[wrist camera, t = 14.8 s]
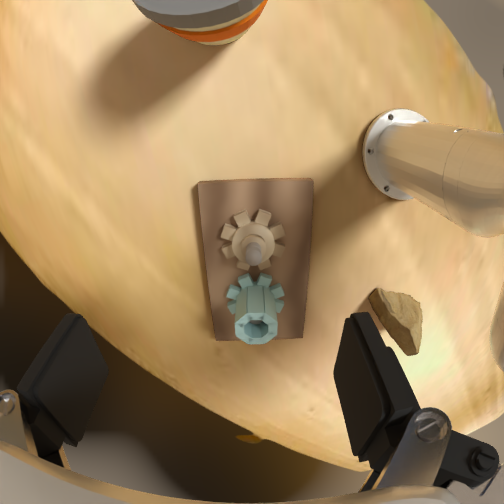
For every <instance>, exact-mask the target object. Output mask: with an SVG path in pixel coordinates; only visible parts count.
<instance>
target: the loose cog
mask: <svg viewBox="0 0 504 504" xmlns="http://www.w3.org/2000/svg"><path fill="white" fill-rule="evenodd" d="M271 281H272V276H270V275H267V274H264V273H260V275H259V277H258V280H257V282H253V280H252V278H251V276H250V274H249V273H247V274H244V275H242V276H239V277H238V282H239V284H240V285H241V288H240V287H238V286H234V285H231V284H230V286H229V289H228V291H227V295H226V297H228V298H231V299H234V300H232V301H230V302H228V303H227V307H228V309H229V310H230V312H231V313H232V314H235V334H236V337H238V338H239V339H241V340H242V341H244V342H245V343H247V344H264V343H265V344H266V343H267V342H268V341H270V340H271V339H272V338H274V337H275V336H276V335H277V326H278V322H277V313H276V312H278V313H280V312H281V310H282V308H283V306H284V301H283V300H279V299H277V298H279V297H282V296H285V295H284V291H283V289H282V286H281V284H280V283H278V284H276V285H273V286H270V287H269V285H270V283H271ZM250 320H262V322H261V323H260V324H251V323H250V322H249V321H250Z"/></svg>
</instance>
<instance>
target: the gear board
mask: <svg viewBox="0 0 504 504" xmlns="http://www.w3.org/2000/svg"><path fill="white" fill-rule="evenodd" d="M198 195H199V206H200V216H201V227H202V236H203V245H204V254H205V263H206V271H207V280H208V288H209V295H210V303H211V310H212V317H213V324H214V331H215V338H216V341H232V340H241V339H239V338H238V337H236V334H235V314H232V313H231V312H230V310H229V309H228V307H227V303H228V302H230V301H232V300H234V299H231V298H228V297H226V295H227V291H228V289H229V286H230V284H231V285H234V286H238V287H240V288H241V285H240V284H239V282H238V277H239V276H242V275H244V274H247V273H249V274H250V276H251V278H252V280H253V282H257V280H258V277H259V275H260V273H264V274H267V275H270V276H272V281H271V283H270V285H269V287H270V286H273V285H276V284H278V283H280V284H281V286H282V289H283V291H284V295H285V296H282V297H279V298H277V299H279V300H283V301H284V306H283V308H282V310H281V312H280V313H278V312H276V313H277V322H278V326H277V335H276V336H275V337H274V338H272V339H271V340H273V339H293V338H303V331H304V321H305V311H306V300H307V289H308V276H309V263H310V248H311V231H312V210H313V180H312V179H311V178H270V179H236V180H215V181H200V182H199V183H198ZM249 322H250V323H251V324H260V323H261V322H262V320H250V321H249Z"/></svg>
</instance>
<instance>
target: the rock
mask: <svg viewBox="0 0 504 504" xmlns="http://www.w3.org/2000/svg"><path fill="white" fill-rule="evenodd" d="M369 300H370V303H371V305H372V308H373V310H374V311H375V313H376V315H377V316H378V318H379V320H380V322H381V323H382V324H383V326H384V327H385V329H386V330H387V332H388V333H389V335H390V336H391V337H392V338H393V339H394V340H395V342H396V343H397V344H398V346H399V347H400V348H401V349H402V351H403V352H404V353H405V354H406V355H407V356H411V355H416V354H418V353H419V347H420V344H421V338H422V327H421V326H422V310H421V308H420V302H417V301H416V300H414V299H413V298H412V297H411V296H410V295H406V294H404V293H394V292H385V291H384V290H382V289H379V288H377V289H376V290H375V291H374V292H373V293H372V294H371V295H370V296H369Z"/></svg>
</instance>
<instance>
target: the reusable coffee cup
mask: <svg viewBox="0 0 504 504" xmlns="http://www.w3.org/2000/svg"><path fill="white" fill-rule="evenodd" d="M132 1H133V2H134V3H135V5H136V6H137V8H138V9H139V10H140V11H141V12H142V13H143V14H144V15H145V16H146V17H147V18H149V19H151V20H153V21H154V22H156V23H158V24H159V25H161V26H162V27H164V28H166V29H167V30H169V31H171V32H173V33H175V34H177V35H179V36H180V37H183V38H185V39H188V40H192V41H196V42H198V43H201V44H205V45H223V44H227V43H230V42H233V41H235V40H237V39H239V38H240V37H242V36H243V35H244V34H245V33H246V32H247V31H248V30H249V28H250V27H251V25H253V24H254V23H255V21H256V20H257V19H258V17H259V16H260V14H261V12H262V10H263V9H264V7H265V5H266V3H267V1H268V0H132Z"/></svg>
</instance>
